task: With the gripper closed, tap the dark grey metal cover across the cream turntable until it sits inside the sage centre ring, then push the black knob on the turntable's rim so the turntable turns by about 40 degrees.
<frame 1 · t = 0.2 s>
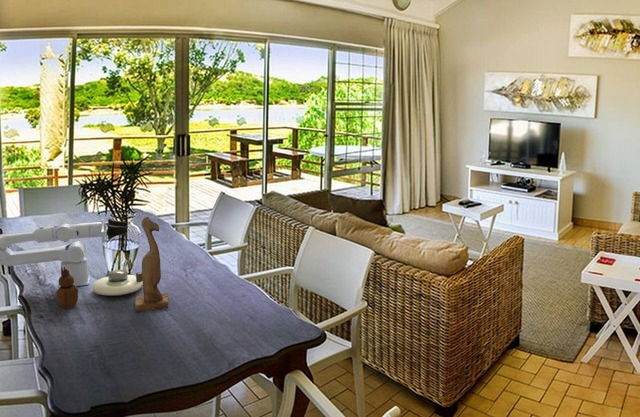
hand: (127, 227, 225), 21 cm above the table, tool horizontal, fingers open, 7 cm apart
turntable: (117, 280, 217), point 3 cm above the table, hinge at 0.0°, touching cover
turntable base: (118, 289, 218), on the table
bird sculpture: (152, 305, 203), on the table
cover: (118, 278, 221), point 3 cm above the table, touching turntable
wooden figurine: (68, 306, 201), on the table
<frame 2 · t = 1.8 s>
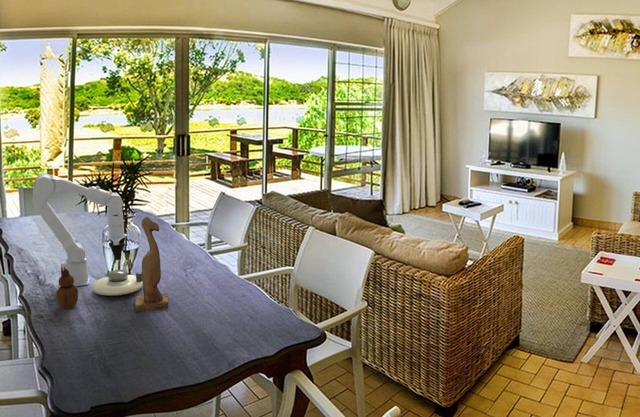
hand: (118, 257, 228), 8 cm above the table, tool pointing down, fingers open, 5 cm apart
nothing on the table moved.
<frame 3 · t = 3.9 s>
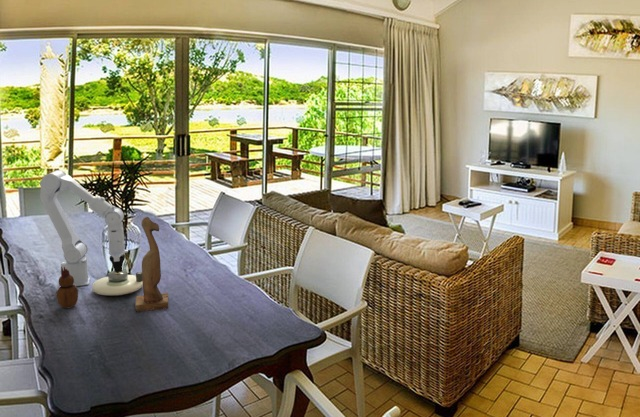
hand: (118, 273, 224), 3 cm above the table, tool pointing down, fingers closed
turntable: (117, 280, 217), point 3 cm above the table, hinge at 0.0°
cover: (118, 279, 220), point 3 cm above the table, touching gripper
everything else where it was.
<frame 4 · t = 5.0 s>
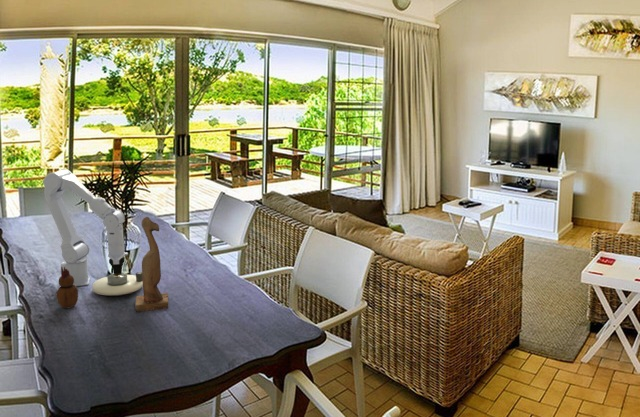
hand: (118, 276, 221), 3 cm above the table, tool pointing down, fingers closed
turntable: (117, 280, 217), point 3 cm above the table, hinge at 0.1°, touching cover
cover: (117, 282, 217), point 3 cm above the table, touching gripper, turntable
everything else where it was.
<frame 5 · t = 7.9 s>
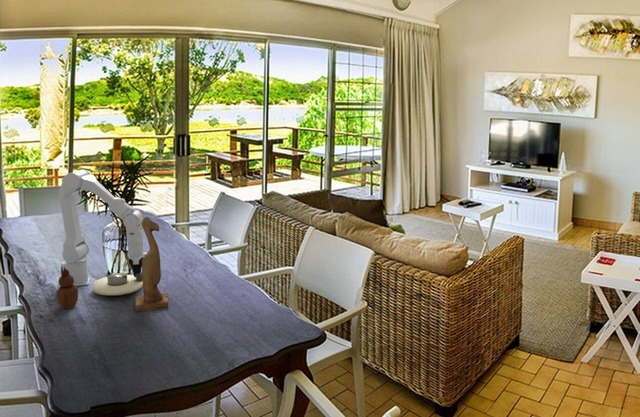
hand: (137, 276, 221), 3 cm above the table, tool pointing down, fingers closed, pressing on turntable
turntable: (117, 280, 217), point 3 cm above the table, hinge at 0.1°, touching cover, gripper
cover: (117, 282, 217), point 3 cm above the table, touching turntable
everything else where it was.
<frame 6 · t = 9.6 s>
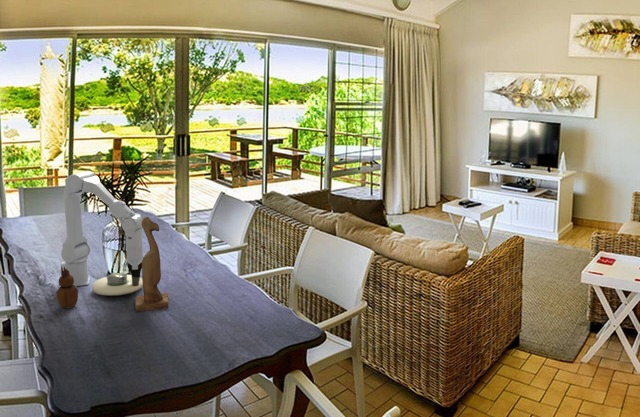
hand: (136, 281, 216), 3 cm above the table, tool pointing down, fingers closed, pressing on turntable
turntable: (117, 280, 217), point 3 cm above the table, hinge at 34.7°, touching cover, gripper
everything else where it was.
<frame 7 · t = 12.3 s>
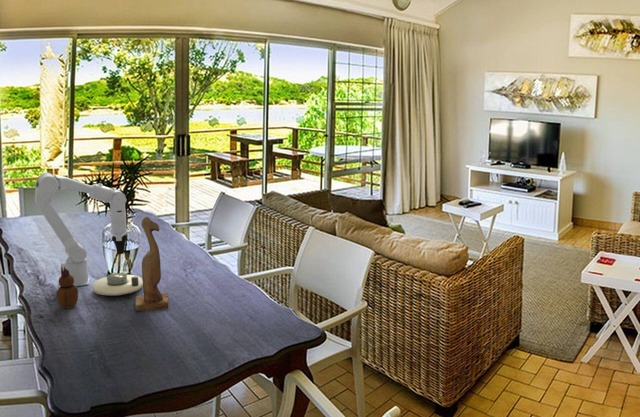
hand: (120, 253, 230), 9 cm above the table, tool pointing down, fingers closed
turntable: (117, 280, 217), point 3 cm above the table, hinge at 36.6°, touching cover
everything else where it was.
at the end: cover 0.2 cm from the turntable (horizontally); turntable at +37° (first picture: +0°); cover tilted 0° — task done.
